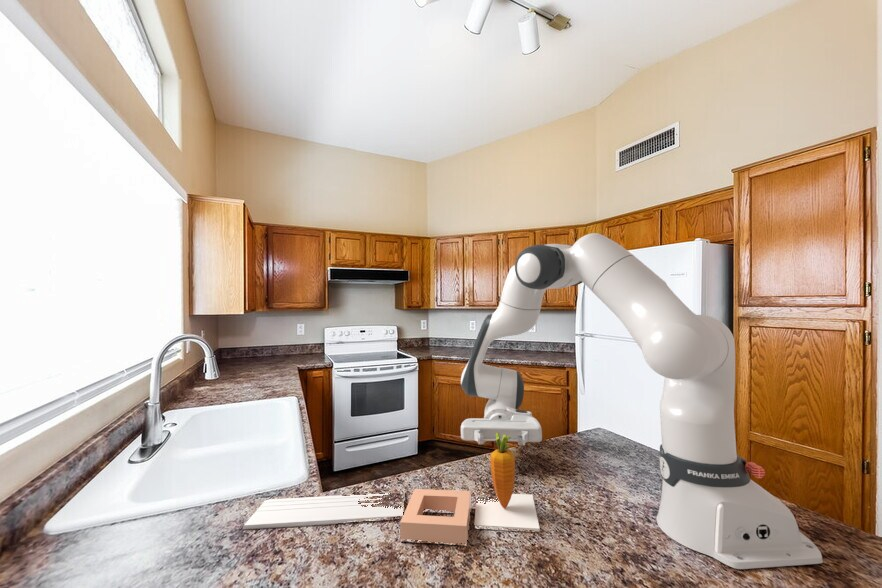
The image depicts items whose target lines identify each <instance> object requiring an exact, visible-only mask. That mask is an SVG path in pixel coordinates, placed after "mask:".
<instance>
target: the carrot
mask: <svg viewBox="0 0 882 588" xmlns="http://www.w3.org/2000/svg"><path fill="white" fill-rule="evenodd" d="M496 437H497V438H496V441H495V442H496V445H497V448H498V449H495V450H494V451H492V452H491V454H490V457H489V459H490V471H491V472H490V474H491V480H492V485H493V488H494V489H493V490H494V493H496V495H497V498H498V500H499V502H500V504H501V506H502V507H503V508H504V509H505V508H506V507H507V506H508V503H509V501H510V499H511V496H512V494H514V487H515V478H516V457H515V454H514V453H512V451H510V450H509V448H510V445H509V444H507V443H508V442H509V441H508V440H509V438H510V436H508V437H507V435H504V436H503V438H502V441H501V440H500V435H499V433H496Z"/></svg>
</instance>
